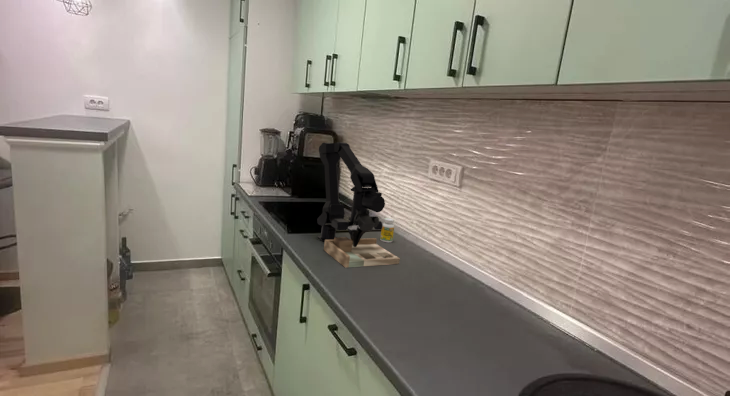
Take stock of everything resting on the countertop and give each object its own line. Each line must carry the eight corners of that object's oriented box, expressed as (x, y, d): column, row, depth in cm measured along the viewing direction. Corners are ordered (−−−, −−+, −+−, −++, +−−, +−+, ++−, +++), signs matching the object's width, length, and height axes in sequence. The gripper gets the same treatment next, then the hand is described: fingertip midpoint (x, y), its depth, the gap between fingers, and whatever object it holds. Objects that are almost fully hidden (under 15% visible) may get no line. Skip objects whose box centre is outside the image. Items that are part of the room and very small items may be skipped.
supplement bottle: (390, 239, 177) (394, 218, 175) (393, 243, 172) (396, 221, 170) (378, 238, 176) (382, 217, 174) (381, 242, 171) (384, 220, 169)
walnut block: (333, 247, 148) (334, 237, 147) (345, 247, 151) (346, 237, 150) (339, 252, 144) (340, 241, 143) (351, 251, 146) (352, 241, 146)
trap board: (323, 250, 150) (324, 239, 150) (373, 247, 162) (375, 238, 161) (345, 267, 135) (346, 256, 135) (399, 263, 146) (400, 253, 146)
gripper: (347, 210, 135) (341, 255, 138) (393, 211, 145) (387, 252, 147) (333, 203, 145) (328, 244, 148) (377, 204, 154) (372, 243, 157)
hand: (354, 246), depth 150 cm, fingers closed
